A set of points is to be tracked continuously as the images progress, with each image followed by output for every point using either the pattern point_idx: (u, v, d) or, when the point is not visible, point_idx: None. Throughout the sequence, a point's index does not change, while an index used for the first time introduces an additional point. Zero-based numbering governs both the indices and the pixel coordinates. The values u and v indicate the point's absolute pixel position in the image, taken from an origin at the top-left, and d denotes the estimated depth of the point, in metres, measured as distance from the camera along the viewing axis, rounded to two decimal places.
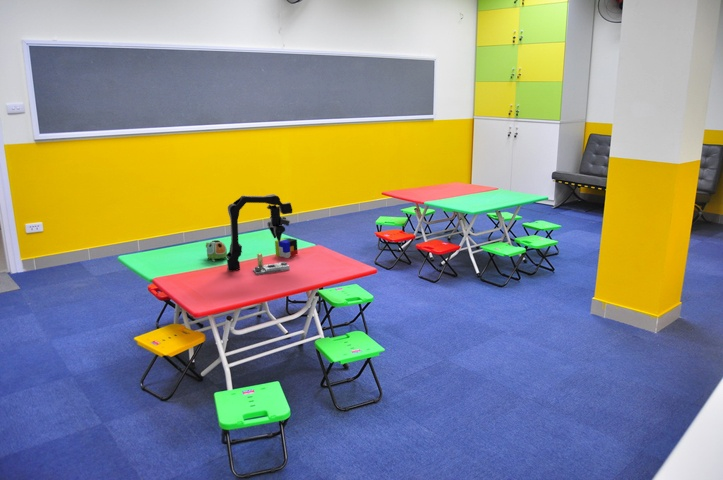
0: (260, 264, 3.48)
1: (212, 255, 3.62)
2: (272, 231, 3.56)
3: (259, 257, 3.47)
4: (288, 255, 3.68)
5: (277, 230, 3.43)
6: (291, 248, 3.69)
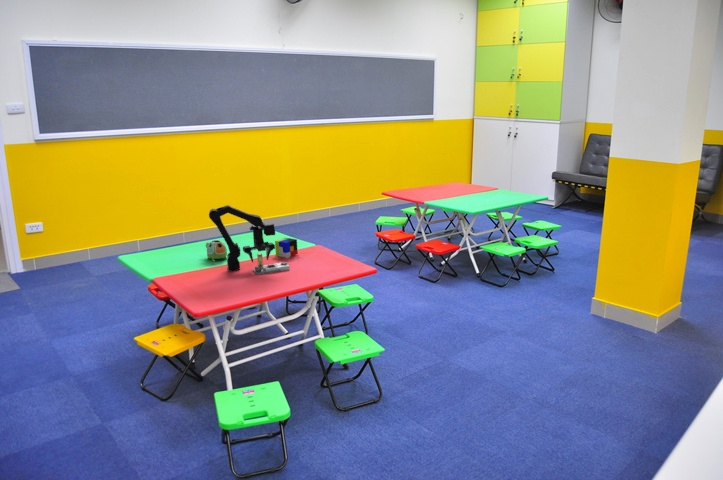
0: (260, 264, 3.48)
1: (212, 255, 3.62)
2: (266, 252, 3.51)
3: (259, 257, 3.47)
4: (288, 255, 3.68)
5: (243, 249, 3.45)
6: (291, 248, 3.69)
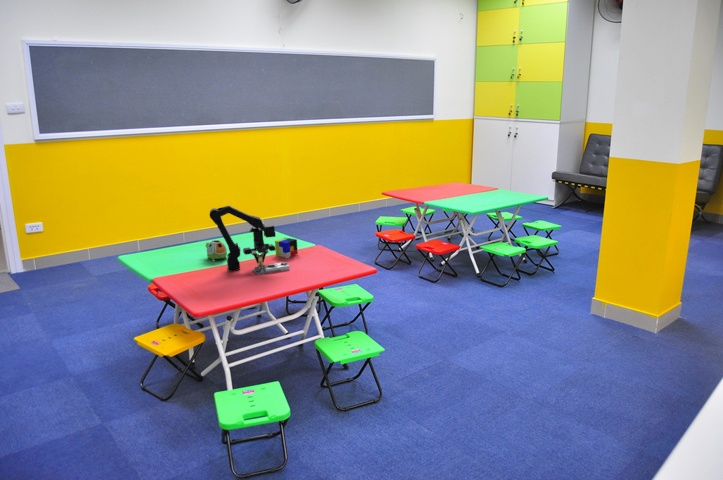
0: (260, 264, 3.48)
1: (212, 255, 3.62)
2: (262, 254, 3.50)
3: (259, 257, 3.47)
4: (288, 255, 3.68)
5: (243, 251, 3.45)
6: (291, 248, 3.69)
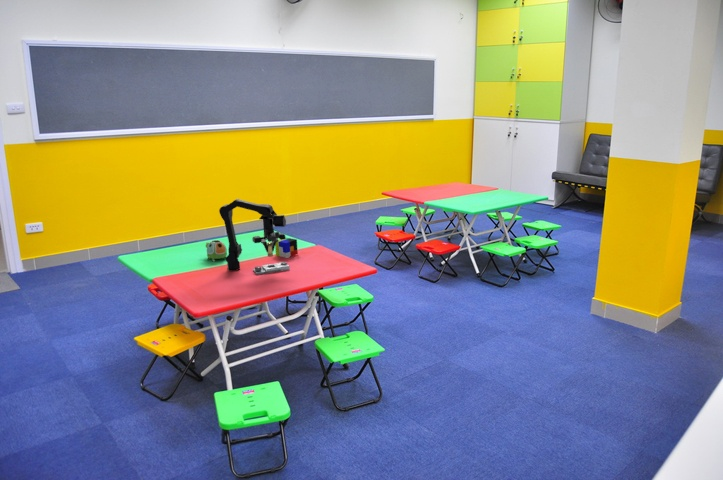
0: (270, 253, 3.39)
1: (212, 255, 3.62)
2: None
3: (269, 246, 3.38)
4: (288, 255, 3.68)
5: (252, 239, 3.36)
6: (291, 248, 3.69)
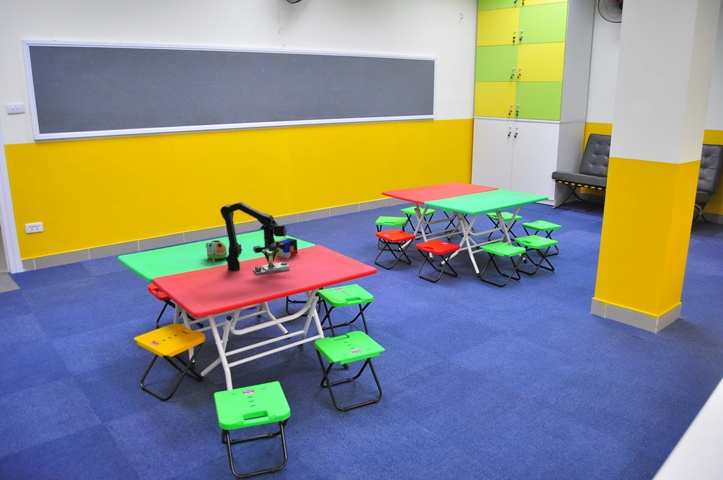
0: (270, 263, 3.40)
1: (212, 255, 3.62)
2: None
3: (269, 256, 3.39)
4: (288, 255, 3.68)
5: (253, 249, 3.37)
6: (291, 248, 3.69)
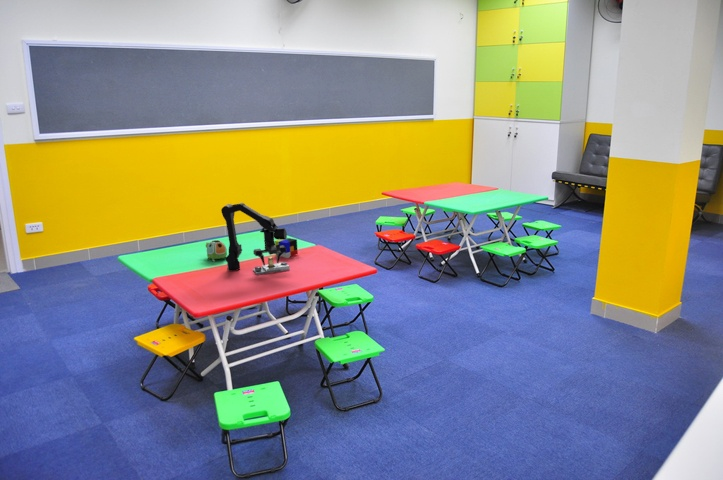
0: None
1: (212, 255, 3.62)
2: (276, 255, 3.44)
3: (270, 260, 3.40)
4: (288, 255, 3.68)
5: None
6: (291, 248, 3.69)
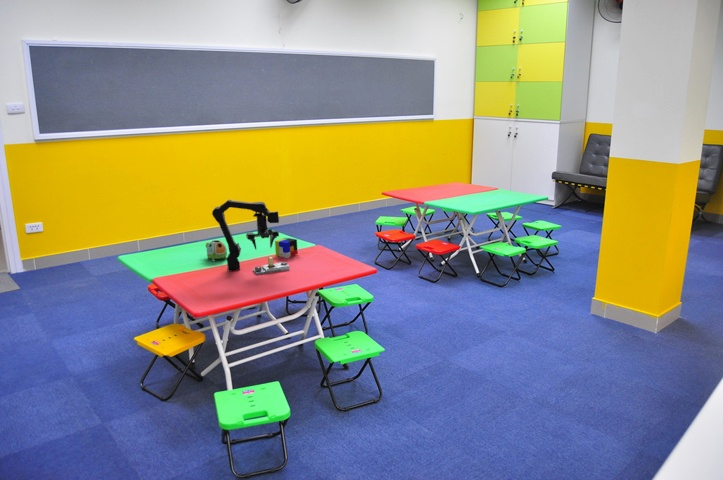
0: None
1: (212, 255, 3.62)
2: (270, 240, 3.47)
3: (270, 260, 3.40)
4: (288, 255, 3.68)
5: (246, 236, 3.41)
6: (291, 248, 3.69)
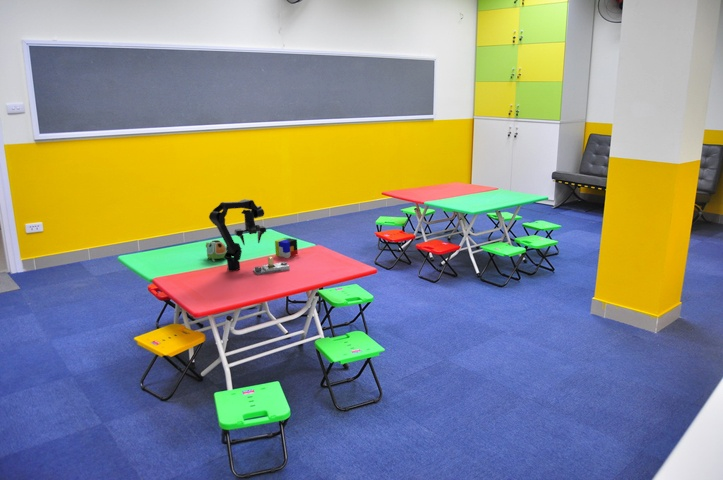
0: None
1: (212, 255, 3.62)
2: None
3: (270, 260, 3.40)
4: (288, 255, 3.68)
5: None
6: (291, 248, 3.69)
